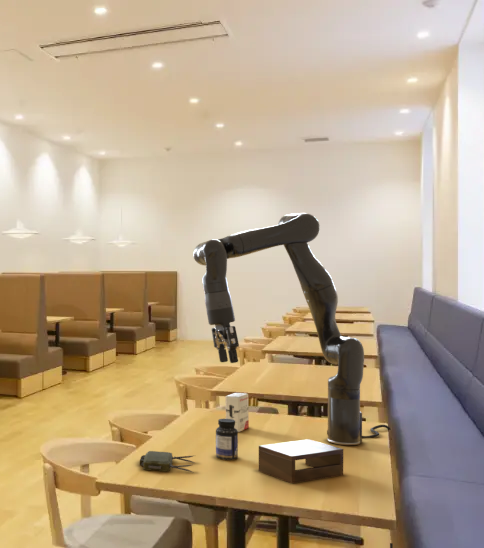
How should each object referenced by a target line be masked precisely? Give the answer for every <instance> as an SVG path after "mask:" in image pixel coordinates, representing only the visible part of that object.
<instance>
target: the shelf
mask: <svg viewBox="0 0 484 548" xmlns="http://www.w3.org/2000/svg"><path fill="white" fill-rule="evenodd" d="M301 460H305V461H304V463H305V465H306V466H310V467H307V468H306V467H305V468H299V469H296V461H301ZM258 472H260V473H261V474H262V473H263V474H266V475H268V476H270V477H274V478H276V479H279V480H281V481H284V482H286V483H290V484H296V483H303V482H309V481H310V482H311V481H315V480H321V479H328V478H334V477H340V476H344V448H342V447H338V446H334V445H331V444H328V443H323V442H320V441H317V440H313V439H310V438H308V439H307V438H306V439H299V440H290V441H283V442H277V443H268V444H260V445H258Z"/></svg>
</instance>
